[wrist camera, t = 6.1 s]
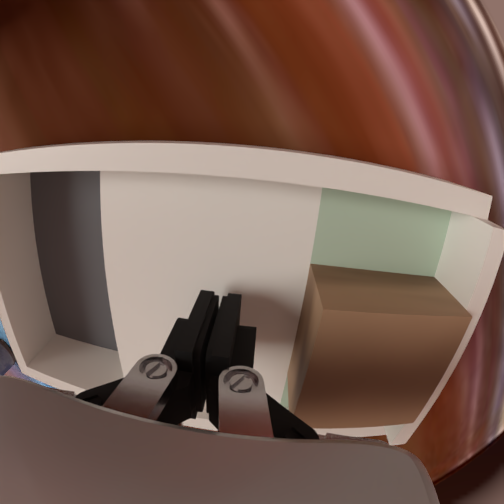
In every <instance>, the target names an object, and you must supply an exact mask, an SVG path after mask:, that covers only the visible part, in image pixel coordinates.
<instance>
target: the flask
mask: <svg viewBox="0 0 504 504" xmlns="http://www.w3.org/2000/svg"><path fill="white" fill-rule="evenodd" d="M15 361H16V358H15V356H14V353H13V351H11V349H10V348H9V346H8V345H7V344H6V342H4V341H3V340H0V375H2V376H3V375H4V374H5V373H6V372H7V371H8V370H9V369H10V368H11V367H12V366H13V365H14V363H15Z"/></svg>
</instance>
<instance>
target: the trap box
mask: <svg viewBox="0 0 504 504" xmlns="http://www.w3.org/2000/svg"><path fill="white" fill-rule="evenodd" d="M492 197H493V196H490V195H488V194H485V193H482V192H479V191H477V190H474V189H471V188H468V187H465V186H462V185H459V184H456V183H453V182H449V181H446V180H443V179H440V178H436V177H432V176H428V175H424V174H420V173H416V172H412V171H408V170H403V169H399V168H394V167H390V166H385V165H380V164H375V163H370V162H365V161H360V160H354V159H349V158H343V157H337V156H331V155H325V154H318V153H311V152H304V151H297V150H289V149H280V148H271V147H262V146H251V145H239V144H226V143H210V142H189V141H105V142H85V143H70V144H58V145H47V146H37V147H29V148H22V149H15V150H9V151H4V152H0V318H1V321H2V324H3V327H4V330H5V333H6V335H7V338H8V341H9V343H10V346H11V348H12V351H13V353H14V356H15V358H16V360H17V363H18V365H19V367H20V369H21V372H22V373H23V374H25V375H28V376H30V377H32V378H34V379H36V380H39V381H41V382H43V383H46V384H48V385H50V386H53V387H55V388H58V389H61V390H67V391H75V394H76V395H78V394H79V393H81V392H83V391H85V390H88V389H91V388H94V387H98V386H101V385H104V384H107V383H110V382H113V381H116V380H119V379H121V378H124V377H125V376H126V375H127V374H128V372H129V371H130V370H131V369H132V367H133V366H134V365H135V364H136V362H137V361H138V360H139V359H141V358H142V357H144V356H146V355H150V354H160V353H161V351H162V349H163V347H164V345H165V343H166V340H167V338H168V336H169V334H170V332H171V330H172V328H173V326H174V324H175V322H176V320H177V318H185V319H188V318H189V315H190V313H191V311H192V308H193V306H194V304H195V302H196V299H197V297H198V295H199V293H200V291H201V290H207V291H214V292H215V295H219V306H220V303H221V300H222V297H223V296H228V293H234V294H242V298H241V311H240V325H242V326H252V327H257V330H256V342H255V354H254V365H253V369H255V370H256V371H258V372H259V373H260V374H261V375H262V377H263V380H264V385H265V391H266V393H267V394H268V395H270V396H271V397H272V398H273V399H275V400H276V401H277V402H278V403H280V404H281V405H282V406H284V407H285V408H286V409H287V410H289V405H288V380H287V372H288V368H289V364H290V359H291V355H292V351H293V346H294V342H295V337H296V332H297V328H298V323H299V318H300V314H301V309H302V304H303V299H304V294H305V289H306V284H307V278H308V273H309V268H310V264H319V265H328V266H337V267H346V268H356V269H365V270H374V271H383V272H393V273H402V274H412V275H421V276H431V277H435V278H436V279H437V280H438V281H439V282H440V283H441V284H442V285H443V286H444V287H445V288H446V289H447V290H448V291H449V292H450V293H451V294H452V295H453V296H454V297H455V298H456V299H457V301H458V302H459V303H460V304H461V305H462V306H463V307H464V308H465V309H466V310H467V311H468V312H469V313H470V314H471V316H472V319H471V321H470V324H469V326H468V328H467V330H466V332H465V335H464V337H463V339H462V341H461V343H460V345H459V347H458V349H457V351H456V353H455V355H454V357H453V359H452V361H451V363H450V364H449V366H448V368H447V370H446V372H445V373H444V375H443V377H442V379H441V381H440V382H439V384H438V386H437V387H436V389H435V391H434V392H433V394H432V396H431V397H430V399H429V400H428V402H427V403H426V405H425V407H424V408H423V410H422V411H421V413H420V414H419V416H418V417H417V419H416V420H415V421H414V423H409V424H400V425H390V426H378V427H363V428H332V429H317V428H313V429H314V430H315V431H316V432H317V434H320V435H326V433H332V434H338V435H345V436H351V437H364V436H377V435H387V438H388V442H389V445H399V444H405V443H406V442H407V441H408V439H409V438H410V437H411V435H412V434H413V433H414V431H415V430H416V428H417V427H418V426H419V424H420V423H421V421H422V420H423V419H424V417H425V416H426V414H427V413H428V411H429V410H430V408H431V407H432V405H433V404H434V402H435V401H436V399H437V398H438V396H439V394H440V393H441V391H442V389H443V388H444V386H445V384H446V383H447V381H448V379H449V378H450V376H451V374H452V372H453V371H454V369H455V367H456V365H457V363H458V362H459V360H460V358H461V356H462V354H463V352H464V350H465V348H466V346H467V344H468V342H469V340H470V338H471V336H472V334H473V332H474V329H475V327H476V325H477V323H478V321H479V318H480V316H481V314H482V311H483V309H484V306H485V304H486V301H487V299H488V296H489V294H490V291H491V288H492V286H493V283H494V280H495V277H496V274H497V271H498V268H499V265H500V262H501V259H502V256H503V252H504V228H502V227H500V226H499V225H497V224H495V223H493V222H491V221H489V220H488V216H489V211H490V207H491V202H492ZM183 424H184V425H185V426H190V427H196V428H202V429H208V430H215V431H218V430H217V429H216V428H215V426H214V425H213V424H212V423H211V422H210V421H209V413H207V412H206V401H205V405H204V409H203V412H198V413H197V416H196V419H191V418H190V419H188V420H186V421H184V422H183Z"/></svg>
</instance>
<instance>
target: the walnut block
mask: <svg viewBox="0 0 504 504" xmlns="http://www.w3.org/2000/svg"><path fill="white" fill-rule="evenodd" d="M471 319H472V316H471V314H470V313H469V312H468V311H467V310H466V309H465V308H464V307H463V306H462V305H461V304H460V303H459V302H458V301H457V299H456V298H455V297H454V296H453V295H452V294H451V293H450V292H449V291H448V290H447V289H446V288H445V287H444V286H443V285H442V284H441V283H440V282H439V281H438V280H437V279H436V278H435V277H431V276H421V275H412V274H402V273H393V272H383V271H374V270H365V269H356V268H346V267H337V266H328V265H319V264H310V268H309V273H308V278H307V284H306V289H305V294H304V299H303V304H302V309H301V314H300V318H299V323H298V328H297V332H296V337H295V342H294V346H293V351H292V355H291V359H290V364H289V368H288V372H287V380H288V405H289V411H290V412H291V413H293V414H294V415H295V416H297V417H298V418H299V419H301V420H302V421H303V422H305V423H306V424H307V425H309V426H310V427H312V428H317V429H332V428H363V427H378V426H390V425H400V424H409V423H414V421H415V420H416V419H417V417H418V416H419V414H420V413H421V411H422V410H423V408H424V407H425V405H426V403H427V402H428V400H429V399H430V397H431V396H432V394H433V392H434V391H435V389H436V387H437V386H438V384H439V382H440V381H441V379H442V377H443V375H444V373H445V372H446V370H447V368H448V366H449V364H450V363H451V361H452V359H453V357H454V355H455V353H456V351H457V349H458V347H459V345H460V343H461V341H462V339H463V337H464V335H465V332H466V330H467V328H468V326H469V324H470V321H471Z"/></svg>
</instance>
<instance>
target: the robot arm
mask: <svg viewBox="0 0 504 504" xmlns="http://www.w3.org/2000/svg"><path fill="white" fill-rule="evenodd" d="M241 298H242V294H234V293H228V296H223V297H222V300H221V303H220V306H219V295H215V292H214V291H207V290H201V291H200V293H199V295H198V297H197V299H196V302H195V304H194V306H193V308H192V311H191V313H190V315H189V318H188V319H185V318H177V320H176V322H175V324H174V326H173V328H172V330H171V332H170V334H169V336H168V338H167V340H166V343H165V345H164V347H163V349H162V351H161V353H160V354H150V355H146V356H144V357H142V358H141V359H139V360H138V361H137V362H136V364H135V365H134V366H133V367H132V369H131V370H130V371H129V372H128V374H127V375H126V376H125V377H124V378H121V379H119V380H116V381H113V382H110V383H107V384H104V385H101V386H98V387H94V388H91V389H88V390H85V391H83V392H81V393H79V394H78V395H76V394H75V391H67V390H61V389H54V388H48V387H45V386H42V385H39V384H36V383H33V382H31V381H27V380H24V379H21V378H16V377H11V376H2V375H0V504H439V501H438V497H437V494H436V492H435V489H434V486H433V483H432V481H431V479H430V476H429V474H428V472H427V470H426V469H425V467H424V465H423V464H422V462H421V461H420V460H419V459H418V458H417V457H416V456H415V455H414V454H412V453H410V452H409V451H406V450H404V449H402V448H399V447H396V446H391V445H389V444H387V443H386V442H384V441H381V440H376V439H367V438H359V437H351V436H345V435H338V434H332V433H326V435H320V434H317V432H316V431H315V430H314V429H313V428H312V427H310V426H309V425H307V424H306V423H305V422H303V421H302V420H301V419H299V418H298V417H297V416H295V415H294V414H293V413H291V412H290V411H289V410H287V409H286V408H285V407H284V406H282V405H281V404H280V403H278V402H277V401H276V400H275V399H273V398H272V397H271V396H270V395H268V394H267V393H266V391H265V385H264V380H263V377H262V375H261V374H260V373H259V372H258V371H256V370H255V369H253V365H254V354H255V342H256V330H257V327H252V326H242V325H240V311H241ZM205 401H206V412H207V413H209V421H210V422H211V423H212V424H213V425H214V426H215V428H216V429H217V430H218V432H213V431H207V430H200V429H194V428H188V427H183V425H184V424H183V422H184V421H186V420H188V419H190V418H191V419H196V416H197V413H198V412H203V409H204V405H205Z"/></svg>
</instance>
